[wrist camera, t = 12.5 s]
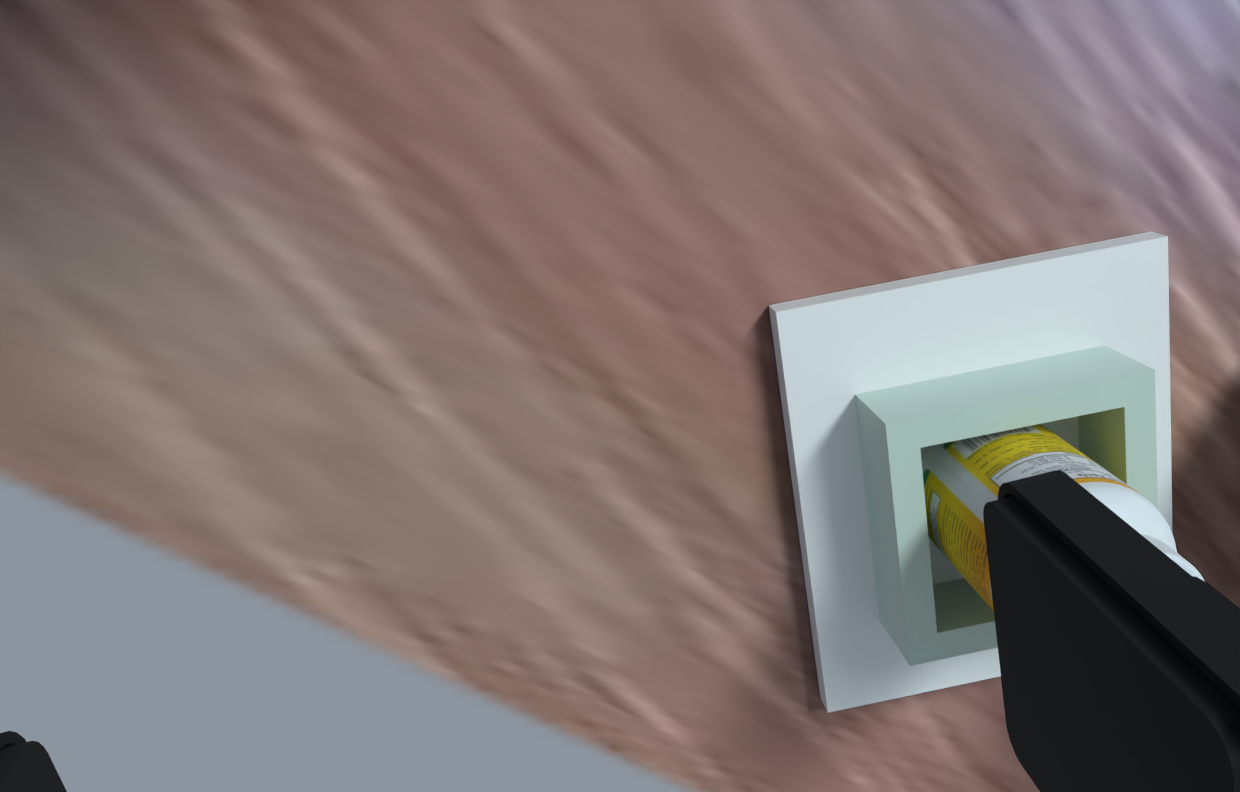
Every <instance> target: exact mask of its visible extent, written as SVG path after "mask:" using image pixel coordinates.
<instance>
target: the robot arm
mask: <svg viewBox="0 0 1240 792" xmlns="http://www.w3.org/2000/svg"><path fill="white" fill-rule="evenodd" d="M983 519H984V528H985V537H986V546H987V555H988V564H989V573H990V582H991V591H992V600H993V609H994V618H995V627H996V636H997V645H998V654H999V663H1000V672H1001V681H1002V690H1003V699H1004V708H1005V717H1006V725H1007V730H1008V734H1009V738H1010V741H1011V744H1012V746H1013V749H1014V751H1015V754H1016V756H1017V758H1018V760H1019V761H1020V763H1021V765H1022V766H1023V768H1024V769H1025V770H1026V772H1027V773H1028V775H1029V776H1030V778H1031V779H1032V780H1033V782H1034V783H1035V785H1036V786H1037V788H1038V789H1039V790H1040V792H1240V609H1239V608H1238V607H1237V606H1236V605H1234V604H1233V603H1232V602H1231V601H1229V600H1228V599H1227V598H1226V597H1224V596H1223V595H1222V594H1221V593H1219V592H1218V591H1217V590H1216V589H1214V588H1213V587H1212V586H1211V585H1210V584H1208V583H1206V582H1205V581H1203V580H1201V579H1199V578H1198V577H1195V576H1191V575H1190V574H1189V573H1188V572H1186V571H1185V570H1184V569H1183V568H1181V567H1180V566H1179V565H1178V564H1177V563H1175V562H1174V561H1173V560H1172V559H1170V558H1169V557H1168V556H1167V555H1166V554H1164V553H1163V552H1162V551H1161V550H1159V549H1158V548H1157V547H1156V546H1154V545H1153V544H1152V543H1151V542H1150V541H1148V540H1147V539H1146V538H1145V537H1143V536H1142V535H1141V534H1140V533H1139V532H1137V531H1136V530H1135V529H1134V528H1132V527H1131V526H1130V525H1129V524H1128V523H1126V522H1125V521H1124V520H1123V519H1121V518H1120V517H1119V516H1118V515H1116V514H1115V513H1114V512H1113V511H1112V510H1110V509H1109V508H1108V507H1107V506H1105V505H1104V504H1103V503H1102V502H1101V501H1099V500H1098V499H1097V498H1096V497H1094V496H1093V495H1092V494H1091V493H1090V492H1088V491H1087V490H1086V489H1085V488H1083V487H1082V486H1081V485H1080V484H1078V483H1077V482H1076V481H1075V480H1074V479H1072V478H1071V477H1070V476H1069V475H1067V474H1066V473H1064V472H1063V471H1061V470H1055V471H1050V472H1046V473H1042V474H1038V475H1034V476H1030V477H1026V478H1022V479H1018V480H1014V481H1010V482H1006V483H1002V485H1001V486H1000V488H999V492H998V500H995V501H991V502H987V503H986V504H985V505H984V510H983ZM0 792H67V791H66V790H65V787H64V785H63V783H62V781H61V779H60V777H59V775H58V773H57V771H56V769H55V767H54V765H53V763H52V761H51V758H50V756H49V754H48V753H47V751H46V750H45V748H44V747H43V746H42V745H41V744H40V743H39V742H35V741H30V742H26V740H25V739H24V738H23V737H22V736H20V735H19V734H18V733H16V732H12V731H8V732H4V733H0Z"/></svg>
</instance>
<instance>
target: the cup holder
mask: <svg viewBox="0 0 1240 792" xmlns="http://www.w3.org/2000/svg"><path fill="white" fill-rule="evenodd" d="M769 312H770V320H771V327H772V335H773V342H774V350H775V358H776V365H777V373H778V380H779V388H780V396H781V403H782V411H783V418H784V426H785V434H786V441H787V449H788V456H789V464H790V472H791V479H792V487H793V494H794V502H795V510H796V517H797V525H798V532H799V540H800V548H801V555H802V563H803V570H804V578H805V586H806V593H807V601H808V608H809V616H810V624H811V631H812V639H813V646H814V654H815V662H816V669H817V677H818V684H819V692H820V698H821V700H822V702H823V704H824V706H825V708H826V710H827V712H828V713H829V712H834V711H839V710H843V709H848V708H853V707H858V706H862V705H867V704H872V703H876V702H881V701H886V700H891V699H895V698H900V697H905V696H910V695H914V694H919V693H924V692H928V691H933V690H938V689H943V688H947V687H952V686H957V685H962V684H966V683H971V682H976V681H980V680H985V679H990V678H995V677H999V676H1001V672H1000V663H999V654H998V645H997V636H996V627H995V618H994V612H993V611H992V610H991V608H990V607H989V606H988V605H987V604H986V603H985V601H984V600H983V599H982V598H981V597H980V596H979V594H978V593H977V592H976V591H975V590H974V589H973V587H972V586H971V585H970V584H969V583H968V582H967V580H966V579H965V578H964V577H963V576H962V575H961V573H960V572H959V571H958V570H957V569H956V568H955V567H954V565H953V564H952V563H951V562H950V561H949V560H948V559H947V558H946V556H945V555H944V554H943V553H942V552H941V551H940V550H939V548H938V547H937V546H936V545H935V544H934V543H933V542H932V540H931V539H930V538H929V536H928V527H927V516H926V505H925V494H924V483H923V472H922V461H923V459H924V457H925V455H926V453H927V452H928V450H929V449H930V447H931V446H932V445H937V444H942V443H947V442H952V441H957V440H962V439H967V438H972V437H977V436H982V435H987V434H992V433H997V432H1002V431H1007V430H1012V429H1017V428H1022V427H1027V426H1032V425H1037V424H1041V425H1043V426H1044V427H1046V428H1047V429H1049V430H1050V431H1052V432H1054V433H1055V434H1056V435H1057V436H1059V437H1060V438H1062V439H1063V440H1064V441H1066V442H1067V443H1069V444H1070V445H1072V446H1073V447H1074V448H1076V449H1077V450H1079V451H1080V452H1081V453H1083V454H1084V455H1086V456H1087V457H1089V458H1090V459H1092V460H1093V461H1094V462H1096V463H1097V464H1099V465H1100V466H1101V467H1103V468H1104V469H1105V470H1107V471H1108V472H1110V473H1111V474H1113V475H1114V476H1115V477H1117V478H1118V479H1120V480H1121V481H1123V482H1124V483H1125V484H1127V485H1128V486H1130V487H1131V488H1133V489H1134V490H1136V491H1137V492H1138V493H1140V494H1141V495H1142V496H1144V497H1145V498H1146V499H1147V500H1149V501H1150V502H1151V503H1152V504H1153V505H1154V506H1155V507H1156V508H1157V509H1158V511H1159V512H1160V513H1161V514H1162V516H1163V517H1164V518H1165V520H1166V521H1167V523H1168V525H1169V527H1170V529H1171V531H1172V473H1171V410H1170V347H1169V283H1168V236H1164V235H1161V234H1157V233H1154V232H1146V233H1141V234H1135V235H1130V236H1125V237H1120V238H1115V239H1109V240H1104V241H1099V242H1094V243H1089V244H1084V245H1078V246H1073V247H1068V248H1063V249H1058V250H1052V251H1047V252H1042V253H1037V254H1032V255H1027V256H1021V257H1016V258H1011V259H1006V260H1001V261H995V262H990V263H985V264H980V265H975V266H970V267H964V268H959V269H954V270H949V271H944V272H938V273H933V274H928V275H923V276H918V277H912V278H907V279H902V280H897V281H892V282H887V283H881V284H876V285H871V286H866V287H861V288H855V289H850V290H845V291H840V292H835V293H830V294H824V295H819V296H814V297H809V298H804V299H798V300H793V301H788V302H783V303H778V304H773V305H769Z"/></svg>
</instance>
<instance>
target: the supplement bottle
mask: <svg viewBox="0 0 1240 792" xmlns="http://www.w3.org/2000/svg"><path fill="white" fill-rule="evenodd" d="M1055 470H1061V471H1063V472H1064V473H1066V474H1067V475H1069V476H1070V477H1071V478H1072V479H1074V480H1075V481H1076V482H1077V483H1078V484H1080V485H1081V486H1082V487H1083V488H1085V489H1086V490H1087V491H1088V492H1090V493H1091V494H1092V495H1093V496H1094V497H1096V498H1097V499H1098V500H1099V501H1101V502H1102V503H1103V504H1104V505H1105V506H1107V507H1108V508H1109V509H1110V510H1112V511H1113V512H1114V513H1115V514H1116V515H1118V516H1119V517H1120V518H1121V519H1123V520H1124V521H1125V522H1126V523H1128V524H1129V525H1130V526H1131V527H1132V528H1134V529H1135V530H1136V531H1137V532H1139V533H1140V534H1141V535H1142V536H1143V537H1145V538H1146V539H1147V540H1148V541H1150V542H1151V543H1152V544H1153V545H1154V546H1156V547H1157V548H1158V549H1159V550H1161V551H1162V552H1163V553H1164V554H1166V555H1167V556H1168V557H1169V558H1170V559H1172V560H1173V561H1174V562H1175V563H1177V564H1178V565H1179V566H1180V567H1181V568H1183V569H1184V570H1185V571H1186V572H1188V573H1189V574H1190V575H1191V576H1195V577H1198V578H1199V579H1201V580H1203V581H1204V579H1203V577H1202V576H1201V574H1200V573H1199V572H1198V571H1197V569H1196V568H1195V567H1194V566H1193V565H1192V564H1190V563H1189V562H1188V561H1187V560H1185V559H1184V558H1183V557H1182V556H1180V555H1179V554H1178V553H1177V550H1176V544H1175V540H1174V537H1173V534H1172V531H1171V529H1170V527H1169V525H1168V523H1167V521H1166V520H1165V518H1164V517H1163V516H1162V514H1161V513H1160V512H1159V511H1158V509H1157V508H1156V507H1155V506H1154V505H1153V504H1152V503H1151V502H1150V501H1149V500H1147V499H1146V498H1145V497H1144V496H1142V495H1141V494H1140V493H1138V492H1137V491H1136V490H1134V489H1133V488H1131V487H1130V486H1128V485H1127V484H1125V483H1124V482H1123V481H1121V480H1120V479H1118V478H1117V477H1115V476H1114V475H1113V474H1111V473H1110V472H1108V471H1107V470H1105V469H1104V468H1103V467H1101V466H1100V465H1099V464H1097V463H1096V462H1094V461H1093V460H1092V459H1090V458H1089V457H1087V456H1086V455H1084V454H1083V453H1081V452H1080V451H1079V450H1077V449H1076V448H1074V447H1073V446H1072V445H1070V444H1069V443H1067V442H1066V441H1064V440H1063V439H1062V438H1060V437H1059V436H1057V435H1056V434H1055V433H1054V432H1052V431H1050V430H1049V429H1047V428H1046V427H1044V426H1043V425H1041V424H1037V425H1032V426H1027V427H1022V428H1017V429H1012V430H1007V431H1002V432H997V433H992V434H987V435H982V436H977V437H972V438H967V439H962V440H957V441H952V442H947V443H942V444H937V445H932V446H931V447H930V449H929V450H928V452H927V453H926V455H925V457H924V459H923V461H922V472H923V483H924V494H925V505H926V516H927V527H928V536H929V538H930V539H931V540H932V542H933V543H934V544H935V545H936V546H937V547H938V548H939V550H940V551H941V552H942V553H943V554H944V555H945V556H946V558H947V559H948V560H949V561H950V562H951V563H952V564H953V565H954V567H955V568H956V569H957V570H958V571H959V572H960V573H961V575H962V576H963V577H964V578H965V579H966V580H967V582H968V583H969V584H970V585H971V586H972V587H973V589H974V590H975V591H976V592H977V593H978V594H979V596H980V597H981V598H982V599H983V600H984V601H985V603H986V604H987V605H988V606H989V607H990V608H991V610H992V611H993V612H994V609H993V600H992V591H991V582H990V573H989V564H988V555H987V546H986V537H985V528H984V519H983V510H984V505H985V504H986V503H987V502H991V501H995V500H998V492H999V488H1000V486H1001V485H1002V483H1006V482H1010V481H1014V480H1018V479H1022V478H1026V477H1030V476H1034V475H1038V474H1042V473H1046V472H1050V471H1055Z"/></svg>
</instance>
